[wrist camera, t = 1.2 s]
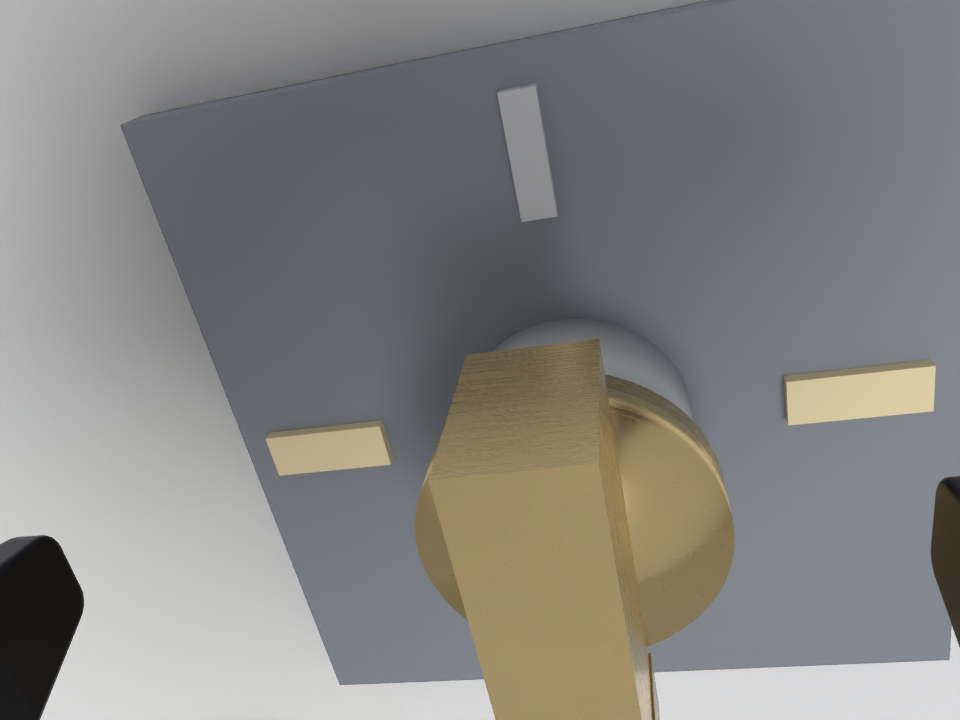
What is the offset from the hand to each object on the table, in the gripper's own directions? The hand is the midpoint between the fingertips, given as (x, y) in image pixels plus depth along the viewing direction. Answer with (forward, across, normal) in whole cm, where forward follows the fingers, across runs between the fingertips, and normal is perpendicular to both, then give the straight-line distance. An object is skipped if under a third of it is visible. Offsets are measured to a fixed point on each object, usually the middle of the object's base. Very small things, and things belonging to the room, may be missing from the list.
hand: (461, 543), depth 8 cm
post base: (+12, 0, +6) cm, 14 cm away
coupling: (+8, 0, +6) cm, 10 cm away
